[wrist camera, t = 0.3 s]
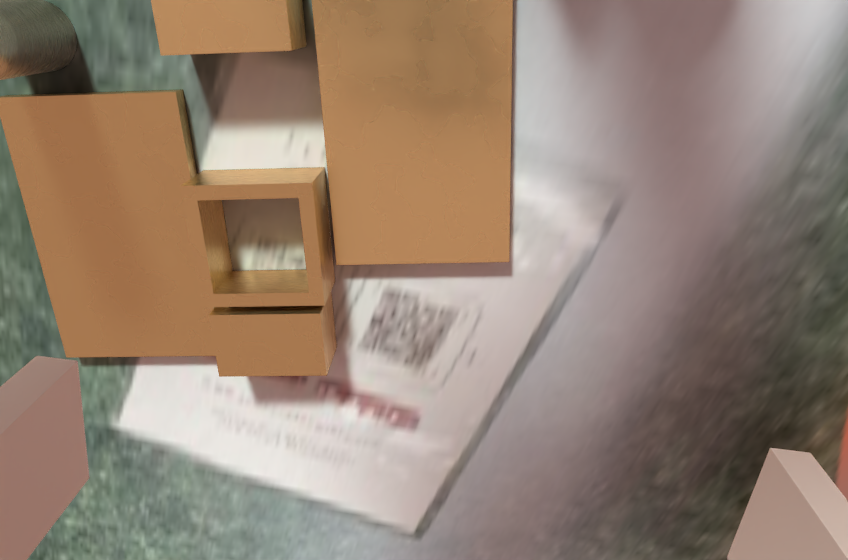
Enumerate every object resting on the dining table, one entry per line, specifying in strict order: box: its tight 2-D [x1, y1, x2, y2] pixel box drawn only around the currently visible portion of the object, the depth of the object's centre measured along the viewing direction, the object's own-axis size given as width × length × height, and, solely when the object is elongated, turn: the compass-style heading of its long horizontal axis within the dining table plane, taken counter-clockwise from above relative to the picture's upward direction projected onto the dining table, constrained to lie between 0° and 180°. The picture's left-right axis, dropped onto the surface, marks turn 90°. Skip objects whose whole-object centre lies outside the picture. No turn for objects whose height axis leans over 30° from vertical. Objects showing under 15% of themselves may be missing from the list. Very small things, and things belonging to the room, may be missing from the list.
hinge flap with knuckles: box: [151, 0, 513, 265], centre depth 35 cm, size 16×17×4 cm
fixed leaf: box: [0, 89, 337, 376], centre depth 38 cm, size 16×17×4 cm
